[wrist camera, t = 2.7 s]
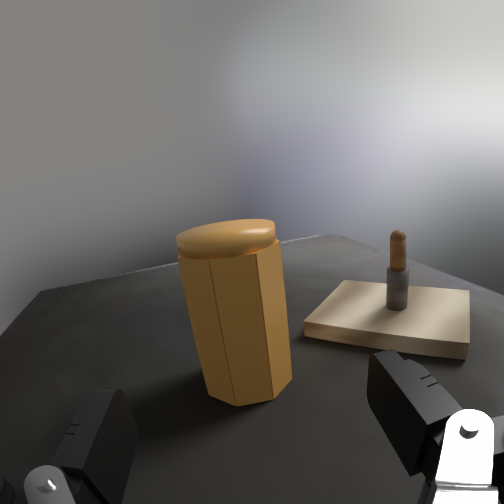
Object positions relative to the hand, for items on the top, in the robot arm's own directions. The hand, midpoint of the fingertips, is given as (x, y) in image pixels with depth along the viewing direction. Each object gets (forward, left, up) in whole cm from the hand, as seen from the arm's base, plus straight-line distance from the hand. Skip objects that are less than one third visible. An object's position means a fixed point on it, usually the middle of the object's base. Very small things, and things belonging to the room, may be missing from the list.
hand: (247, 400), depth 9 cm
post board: (+1, +21, -8) cm, 22 cm away
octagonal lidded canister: (-7, +9, -8) cm, 14 cm away
